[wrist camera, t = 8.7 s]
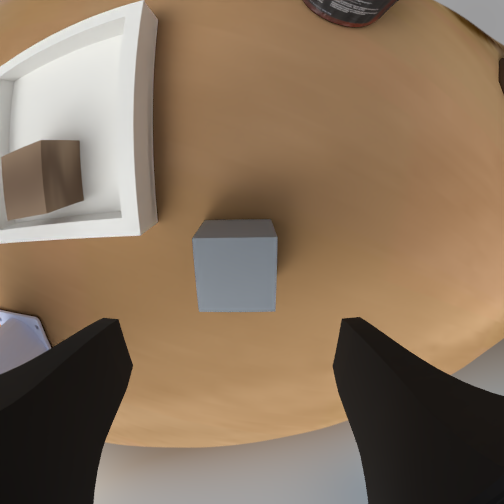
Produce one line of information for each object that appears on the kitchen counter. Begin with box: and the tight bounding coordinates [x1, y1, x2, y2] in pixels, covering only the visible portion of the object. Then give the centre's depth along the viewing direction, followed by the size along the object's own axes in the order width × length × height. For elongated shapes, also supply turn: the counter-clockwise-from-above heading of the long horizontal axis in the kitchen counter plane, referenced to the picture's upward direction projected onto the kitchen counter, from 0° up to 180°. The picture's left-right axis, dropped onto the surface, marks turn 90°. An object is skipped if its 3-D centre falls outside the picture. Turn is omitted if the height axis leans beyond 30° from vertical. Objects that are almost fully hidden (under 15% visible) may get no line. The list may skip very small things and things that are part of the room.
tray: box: [0, 0, 158, 244], centre depth 13 cm, size 14×14×3 cm
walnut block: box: [1, 140, 84, 221], centre depth 12 cm, size 4×4×4 cm
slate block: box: [192, 219, 277, 312], centre depth 15 cm, size 4×4×4 cm
